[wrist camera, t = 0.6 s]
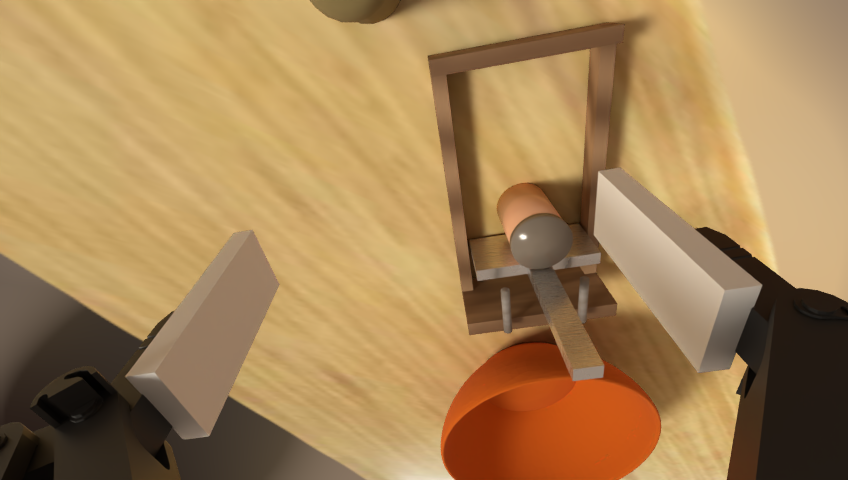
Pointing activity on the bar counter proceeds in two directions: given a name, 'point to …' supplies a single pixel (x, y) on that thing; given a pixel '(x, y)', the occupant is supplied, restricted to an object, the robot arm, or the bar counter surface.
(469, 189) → the bar counter surface
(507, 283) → the lane
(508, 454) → the bowl
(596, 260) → the pusher
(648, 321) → the bar counter surface
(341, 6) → the pepper mill
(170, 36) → the bar counter surface
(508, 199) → the terracotta spice jar
